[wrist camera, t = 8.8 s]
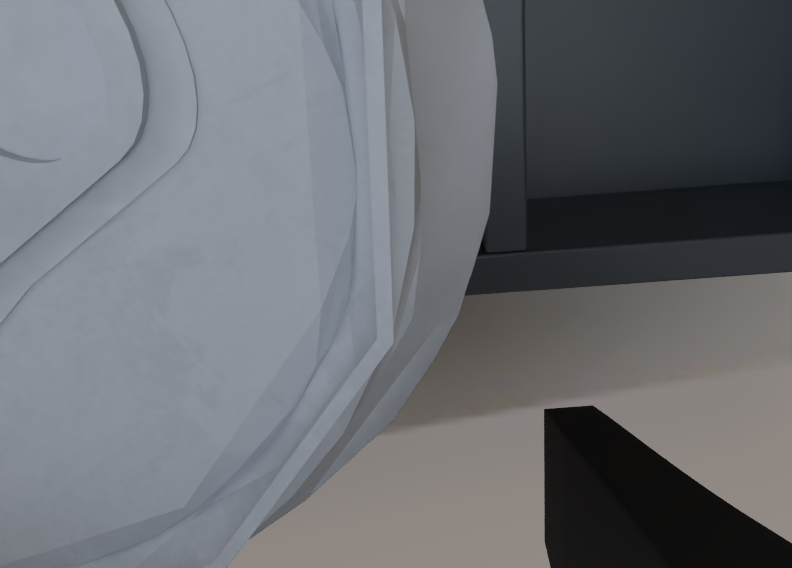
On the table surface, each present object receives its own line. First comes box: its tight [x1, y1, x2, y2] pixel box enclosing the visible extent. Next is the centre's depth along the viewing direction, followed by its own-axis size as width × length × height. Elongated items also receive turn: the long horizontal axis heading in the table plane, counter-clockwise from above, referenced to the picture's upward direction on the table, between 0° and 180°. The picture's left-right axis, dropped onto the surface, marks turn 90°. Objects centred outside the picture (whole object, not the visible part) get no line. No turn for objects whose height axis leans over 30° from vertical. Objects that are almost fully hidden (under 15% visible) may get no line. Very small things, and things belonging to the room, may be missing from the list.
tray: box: [464, 0, 792, 296], centre depth 12 cm, size 8×15×4 cm, turn 94°
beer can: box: [0, 0, 497, 568], centre depth 8 cm, size 5×5×12 cm
